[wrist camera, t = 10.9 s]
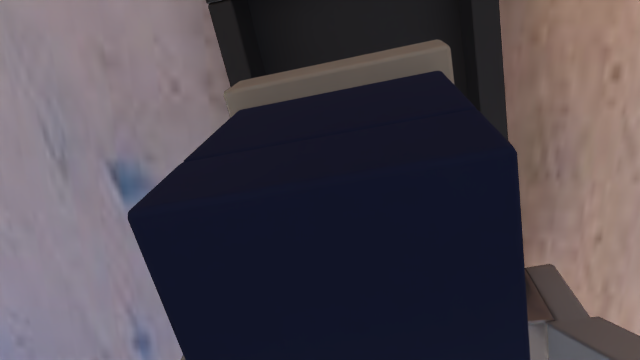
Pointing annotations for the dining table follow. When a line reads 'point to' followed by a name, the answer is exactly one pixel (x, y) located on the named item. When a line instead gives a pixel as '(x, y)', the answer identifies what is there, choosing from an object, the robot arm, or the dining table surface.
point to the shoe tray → (364, 38)
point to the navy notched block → (344, 221)
